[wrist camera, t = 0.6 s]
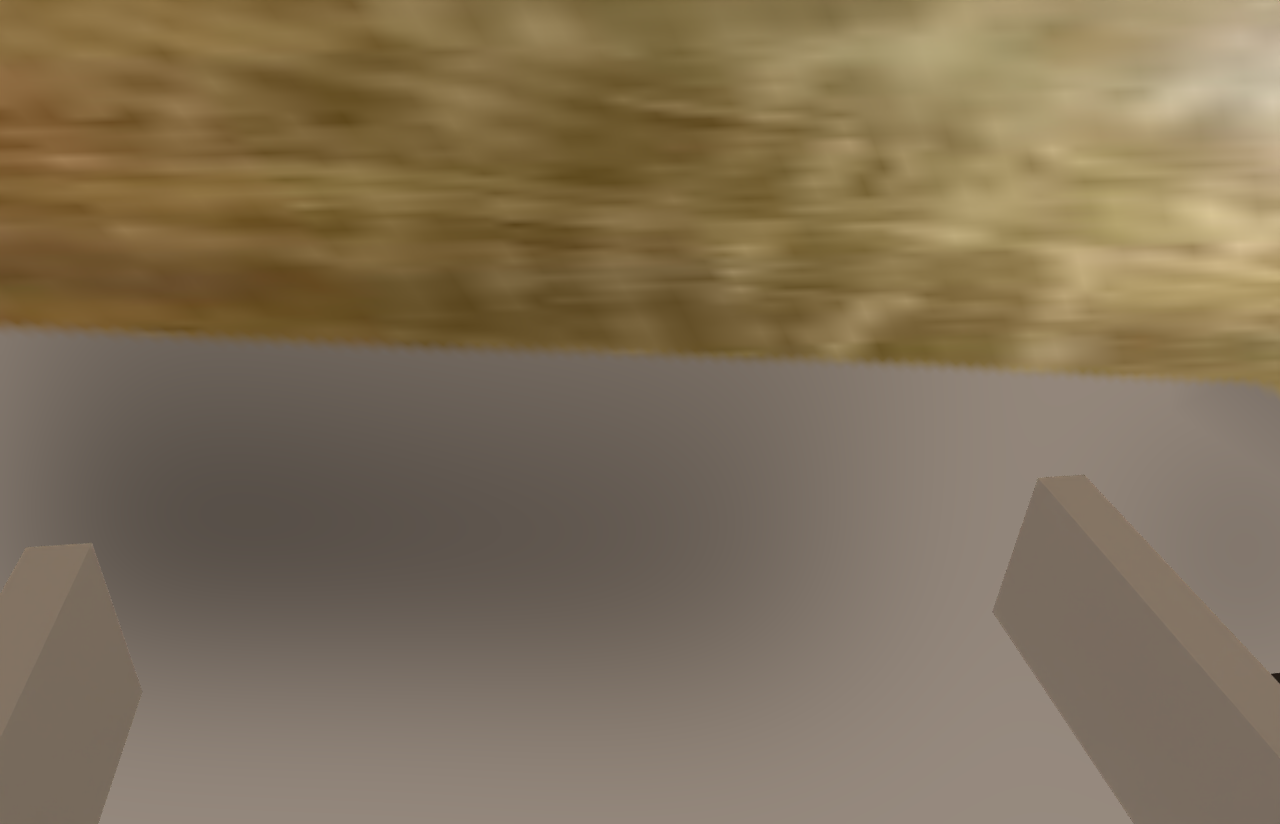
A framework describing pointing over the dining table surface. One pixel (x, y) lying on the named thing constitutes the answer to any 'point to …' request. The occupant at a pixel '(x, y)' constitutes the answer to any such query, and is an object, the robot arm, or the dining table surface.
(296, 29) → the dining table surface
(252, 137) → the dining table surface
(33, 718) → the robot arm
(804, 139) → the dining table surface
